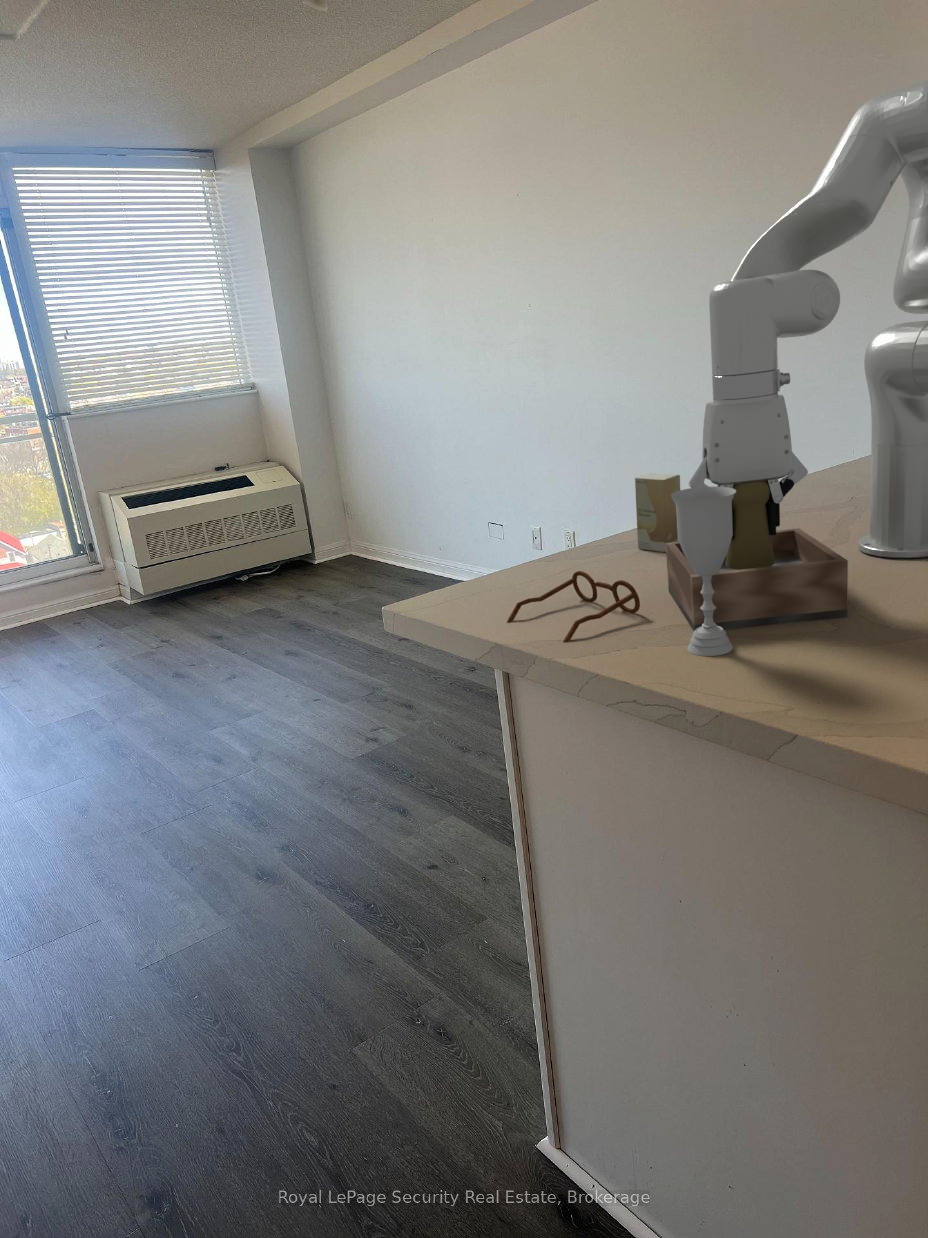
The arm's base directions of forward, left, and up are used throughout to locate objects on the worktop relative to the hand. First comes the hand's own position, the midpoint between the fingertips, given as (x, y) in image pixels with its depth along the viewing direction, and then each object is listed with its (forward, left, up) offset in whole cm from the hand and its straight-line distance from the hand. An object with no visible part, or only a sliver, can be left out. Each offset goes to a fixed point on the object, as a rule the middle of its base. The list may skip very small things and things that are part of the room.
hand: (749, 533), depth 111 cm
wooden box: (0, 0, -9) cm, 9 cm away
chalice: (+9, +15, -9) cm, 19 cm away
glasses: (+23, -1, -10) cm, 25 cm away
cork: (0, 0, -4) cm, 4 cm away
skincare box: (+6, -34, -9) cm, 36 cm away
